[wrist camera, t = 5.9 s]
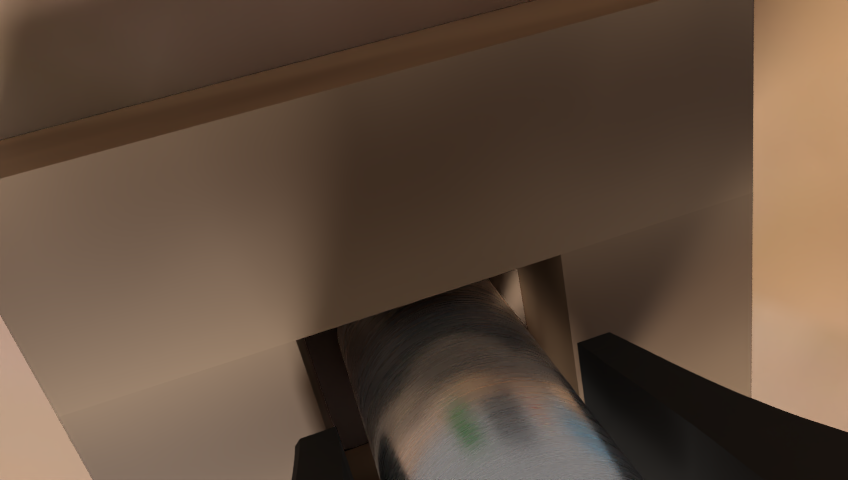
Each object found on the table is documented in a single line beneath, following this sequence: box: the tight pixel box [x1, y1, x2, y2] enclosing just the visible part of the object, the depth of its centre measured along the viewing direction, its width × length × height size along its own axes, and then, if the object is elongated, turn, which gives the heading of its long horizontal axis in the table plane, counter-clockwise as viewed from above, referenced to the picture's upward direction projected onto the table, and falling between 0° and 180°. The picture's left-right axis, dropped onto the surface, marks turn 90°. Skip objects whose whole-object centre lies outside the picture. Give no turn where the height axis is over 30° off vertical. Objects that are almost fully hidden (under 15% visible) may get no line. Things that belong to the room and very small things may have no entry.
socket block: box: [0, 0, 754, 480], centre depth 14 cm, size 12×12×2 cm
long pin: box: [337, 278, 644, 480], centre depth 12 cm, size 3×3×7 cm
